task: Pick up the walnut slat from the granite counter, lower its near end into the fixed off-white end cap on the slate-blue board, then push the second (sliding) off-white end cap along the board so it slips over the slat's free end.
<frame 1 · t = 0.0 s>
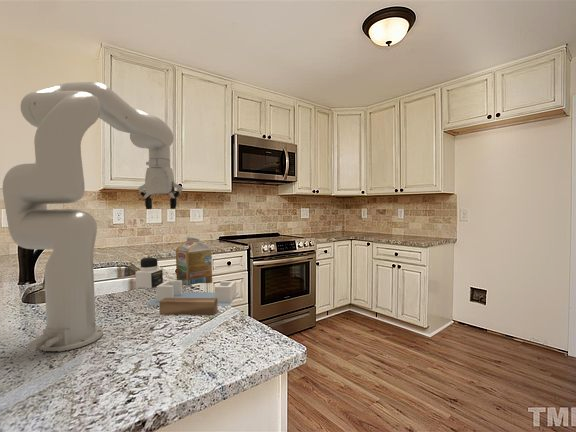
hand: (161, 208, 116), 31 cm above the counter, fingers open, 9 cm apart
medicine bottle: (149, 288, 119), on the counter
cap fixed: (225, 298, 100), resting on board
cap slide: (169, 290, 102), point 4 cm above the counter, slide at 0.0 cm
milk carton: (194, 283, 126), on the counter
slat: (189, 316, 88), on the counter
board: (194, 301, 101), on the counter
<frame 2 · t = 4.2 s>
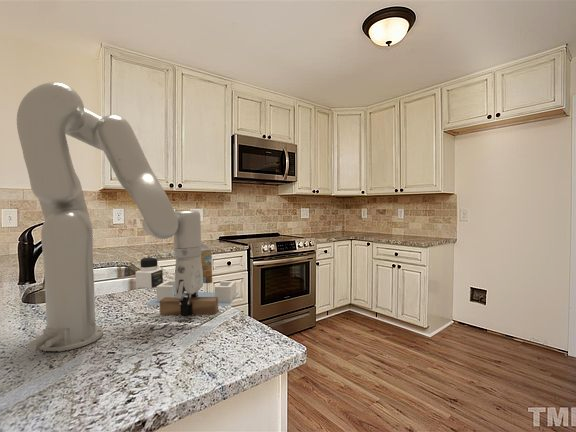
hand: (189, 314, 88), 0 cm above the counter, fingers closed on slat, 3 cm apart
slat: (189, 315, 88), on the counter, touching gripper
everything else where it was.
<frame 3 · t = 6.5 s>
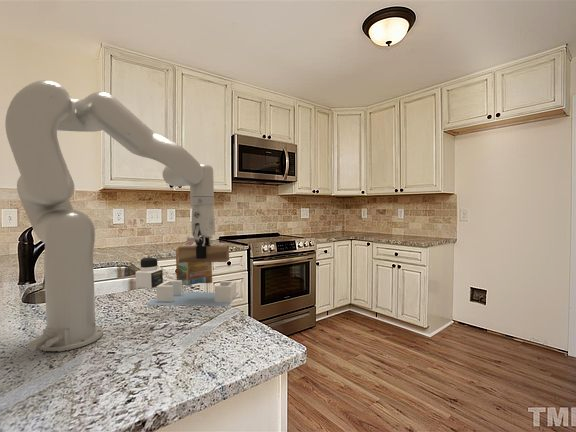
hand: (203, 256, 100), 15 cm above the counter, fingers closed on slat, 3 cm apart
slat: (204, 261, 100), point 14 cm above the counter, touching gripper
everything else where it was.
when the fingers open (3 cm above the counter, at t = 9.0 s): slat stays where it is, resting on board.
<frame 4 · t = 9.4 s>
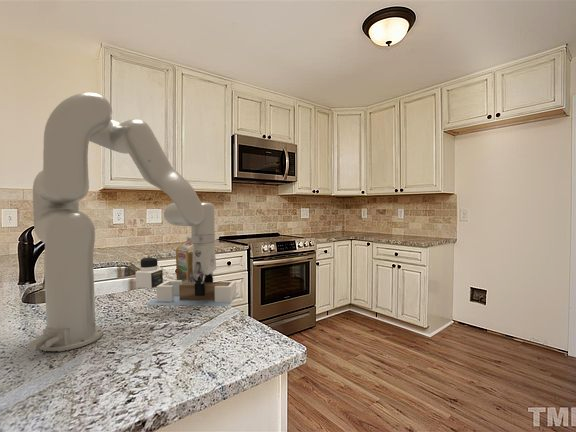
hand: (204, 291, 101), 3 cm above the counter, fingers open, 7 cm apart
slat: (204, 298, 101), point 1 cm above the counter, touching board
everything else where it was.
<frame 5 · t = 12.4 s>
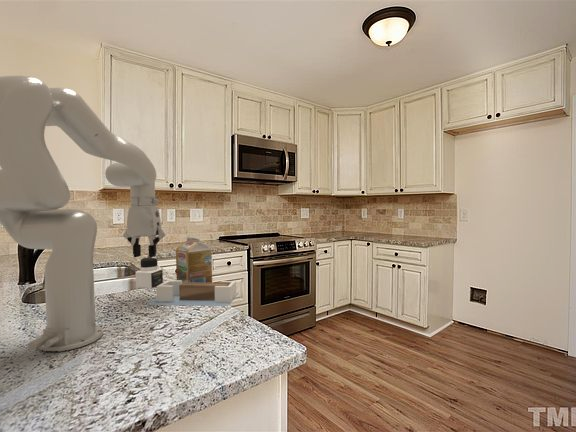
hand: (144, 256, 102), 15 cm above the counter, fingers open, 4 cm apart
nothing on the counter moved.
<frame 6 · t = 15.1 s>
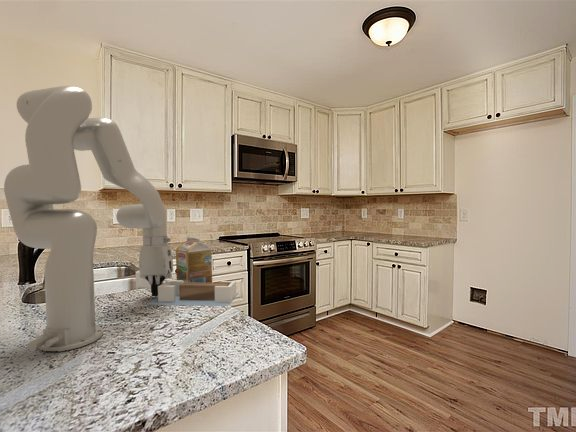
hand: (156, 295, 102), 2 cm above the counter, fingers closed
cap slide: (171, 290, 102), point 4 cm above the counter, slide at 0.5 cm, touching gripper
everything else where it was.
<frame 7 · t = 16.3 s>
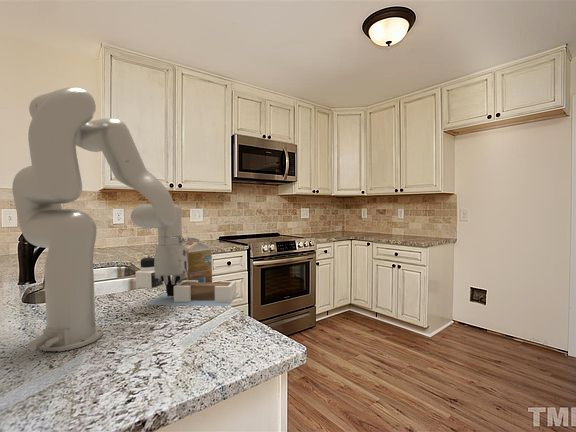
hand: (171, 295, 102), 2 cm above the counter, fingers closed
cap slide: (186, 290, 101), point 4 cm above the counter, slide at 5.8 cm, touching gripper, slat
slat: (205, 298, 101), point 1 cm above the counter, touching board, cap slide
everything else where it was.
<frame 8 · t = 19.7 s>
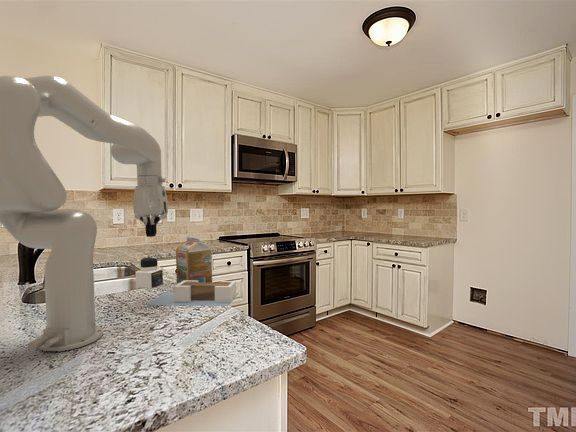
hand: (151, 236, 101), 22 cm above the counter, fingers closed
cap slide: (186, 290, 101), point 4 cm above the counter, slide at 5.9 cm, touching slat
everything else where it was.
at the end: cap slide slide at 5.9 cm; slat 0.1 cm from the target spot, point 1.0 cm above the counter; slat tilted 0° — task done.
